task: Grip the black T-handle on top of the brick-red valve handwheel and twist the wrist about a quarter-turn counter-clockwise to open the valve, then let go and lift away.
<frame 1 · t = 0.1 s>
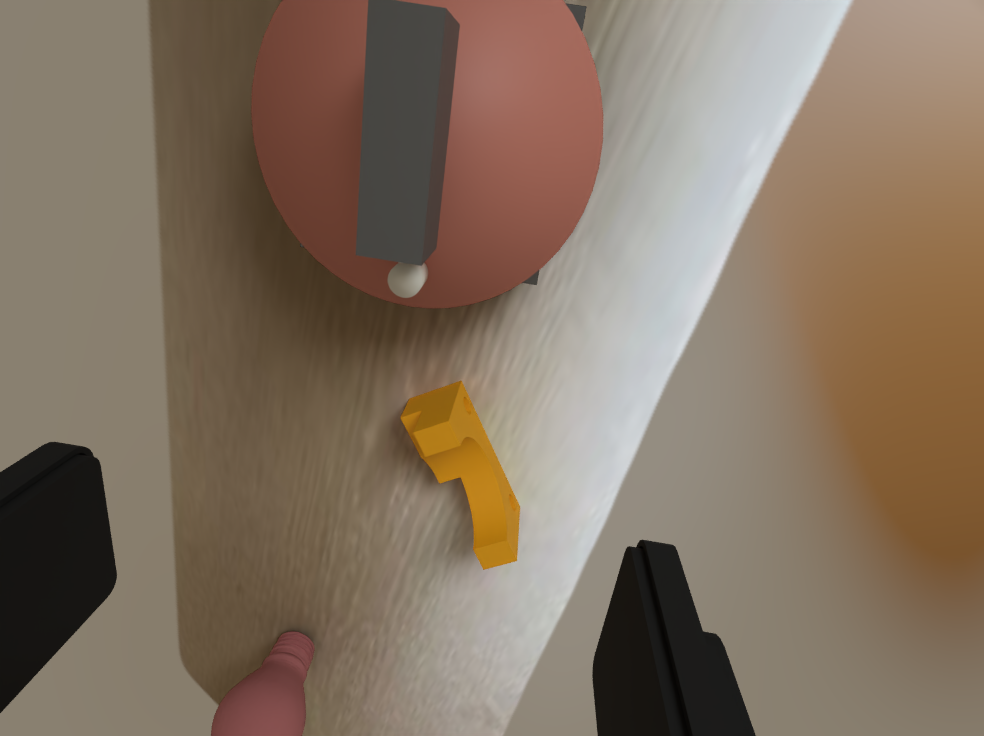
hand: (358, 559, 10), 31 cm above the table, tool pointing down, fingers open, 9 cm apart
light bulb: (300, 636, 55), on the table
handwheel: (414, 139, 27), point 10 cm above the table, hinge at 0.0°
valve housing: (446, 135, 36), on the table
pipe clamp: (467, 452, 46), on the table
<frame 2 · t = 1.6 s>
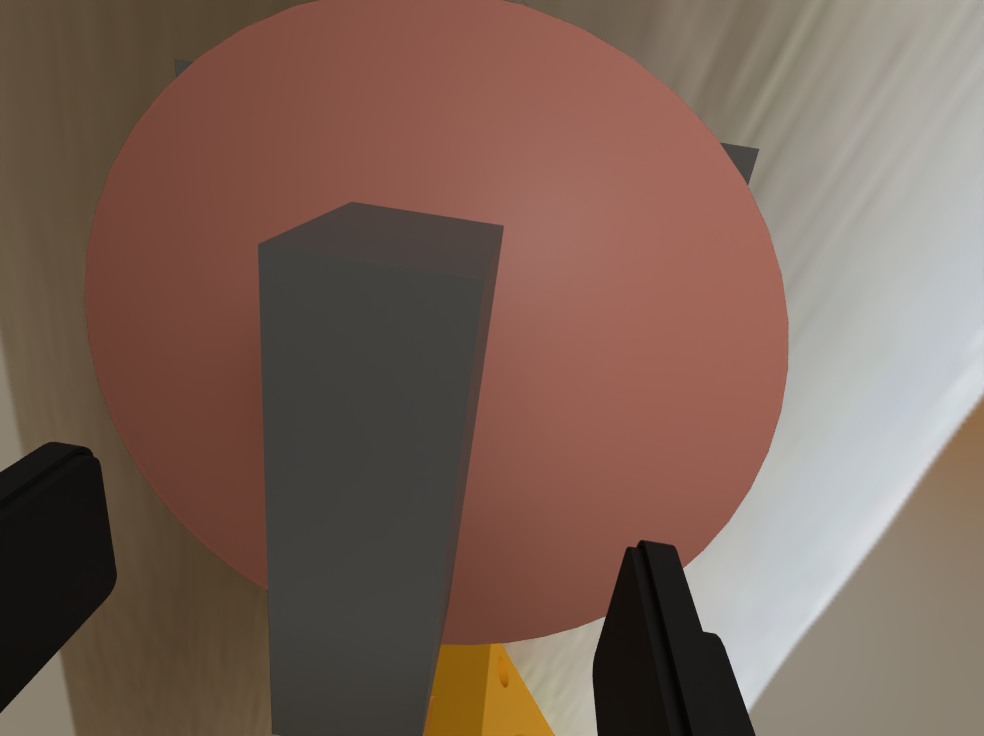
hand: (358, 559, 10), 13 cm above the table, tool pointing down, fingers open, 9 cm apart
handwheel: (403, 443, 13), point 10 cm above the table, hinge at 0.0°
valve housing: (462, 306, 22), on the table
pipe clamp: (501, 708, 32), on the table
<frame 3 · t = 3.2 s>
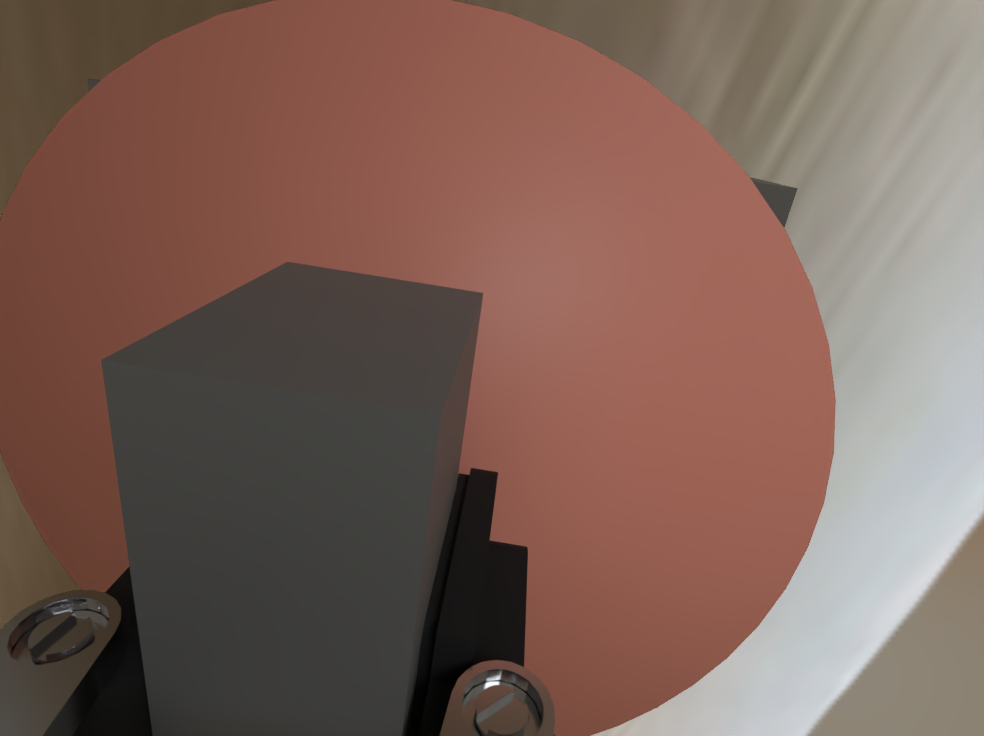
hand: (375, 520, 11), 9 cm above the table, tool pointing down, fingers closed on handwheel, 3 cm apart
handwheel: (360, 555, 10), point 10 cm above the table, hinge at 0.0°, touching gripper
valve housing: (446, 353, 19), on the table
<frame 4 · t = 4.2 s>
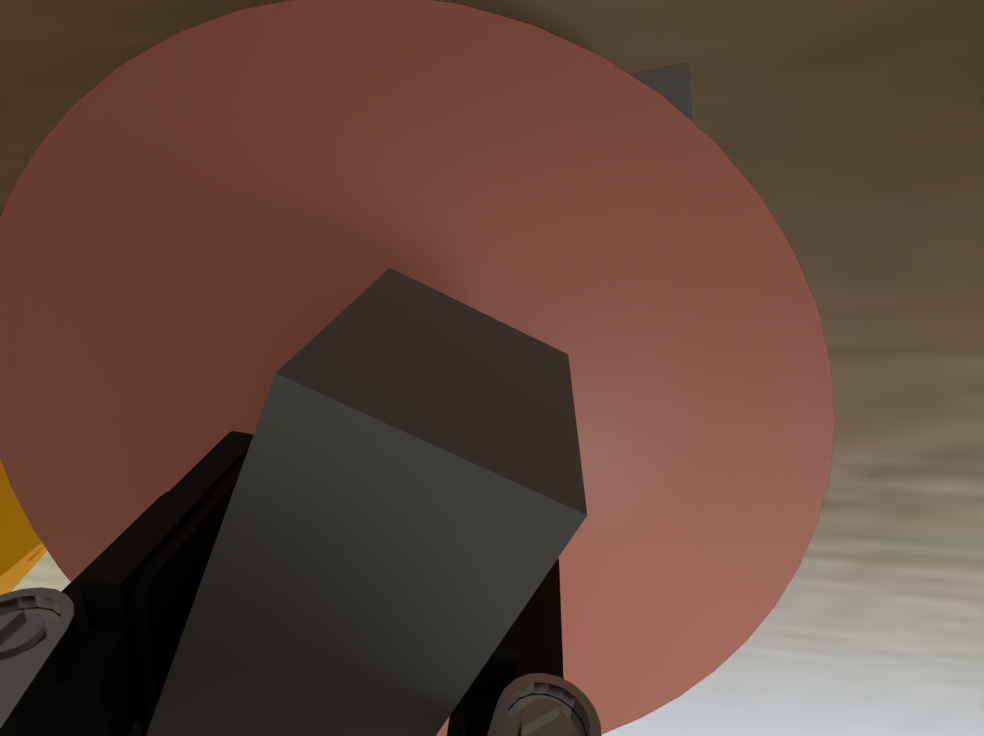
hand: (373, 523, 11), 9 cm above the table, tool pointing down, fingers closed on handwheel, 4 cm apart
handwheel: (358, 558, 10), point 10 cm above the table, hinge at 53.8°, touching gripper
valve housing: (445, 354, 19), on the table
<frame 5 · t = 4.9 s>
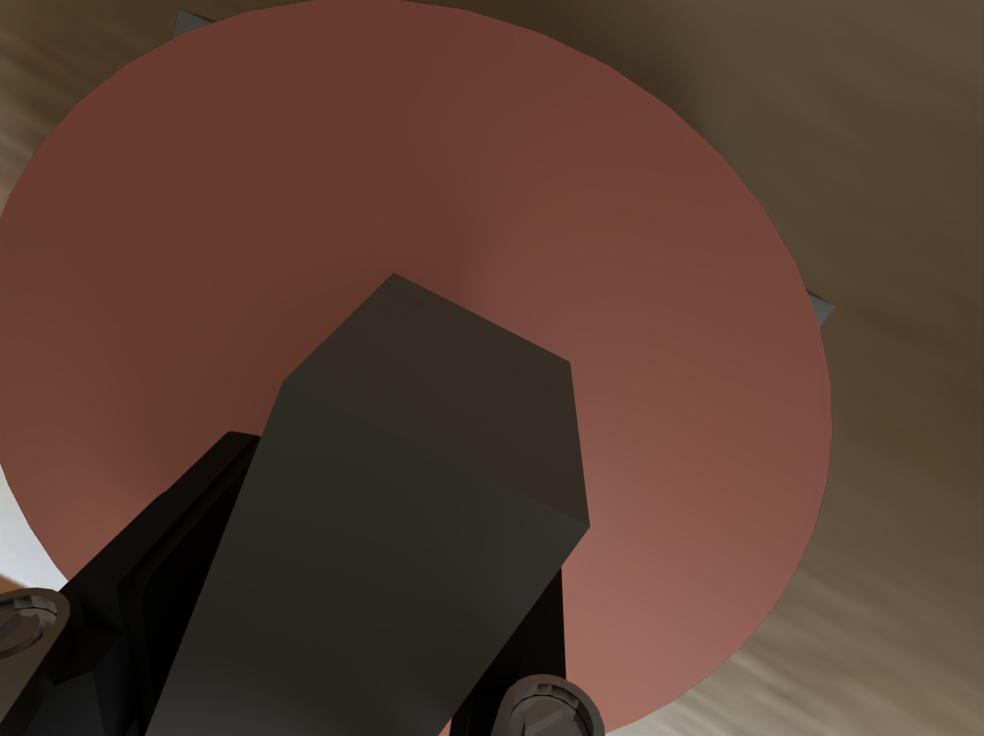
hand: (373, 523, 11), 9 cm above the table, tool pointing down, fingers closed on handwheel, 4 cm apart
handwheel: (357, 561, 10), point 10 cm above the table, hinge at 86.1°, touching gripper
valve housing: (444, 356, 19), on the table
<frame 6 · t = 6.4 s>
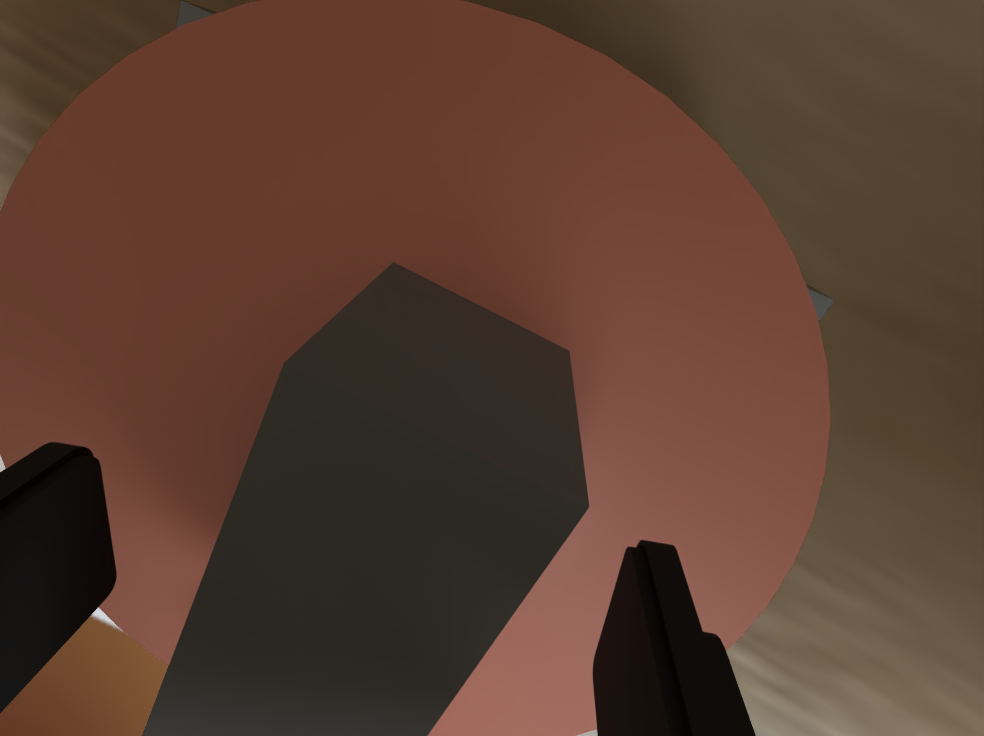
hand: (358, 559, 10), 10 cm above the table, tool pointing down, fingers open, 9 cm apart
handwheel: (357, 551, 10), point 10 cm above the table, hinge at 86.5°
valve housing: (443, 351, 20), on the table
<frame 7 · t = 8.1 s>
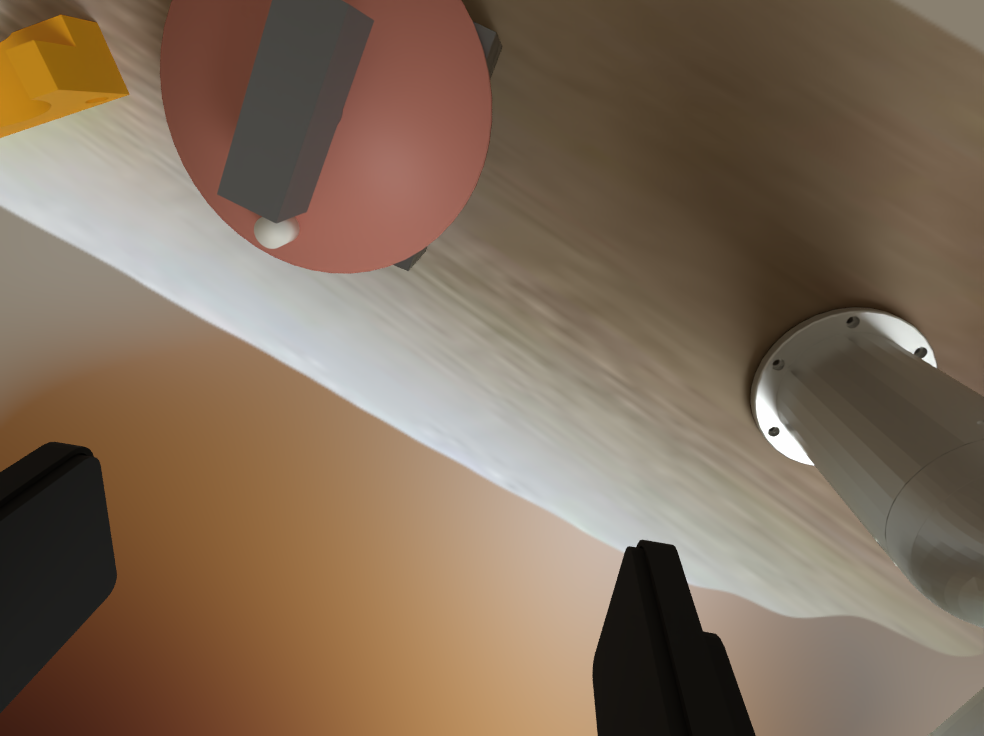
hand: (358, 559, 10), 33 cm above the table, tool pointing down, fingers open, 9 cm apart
handwheel: (308, 107, 29), point 10 cm above the table, hinge at 86.5°
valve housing: (363, 112, 38), on the table
pipe clamp: (41, 86, 39), on the table
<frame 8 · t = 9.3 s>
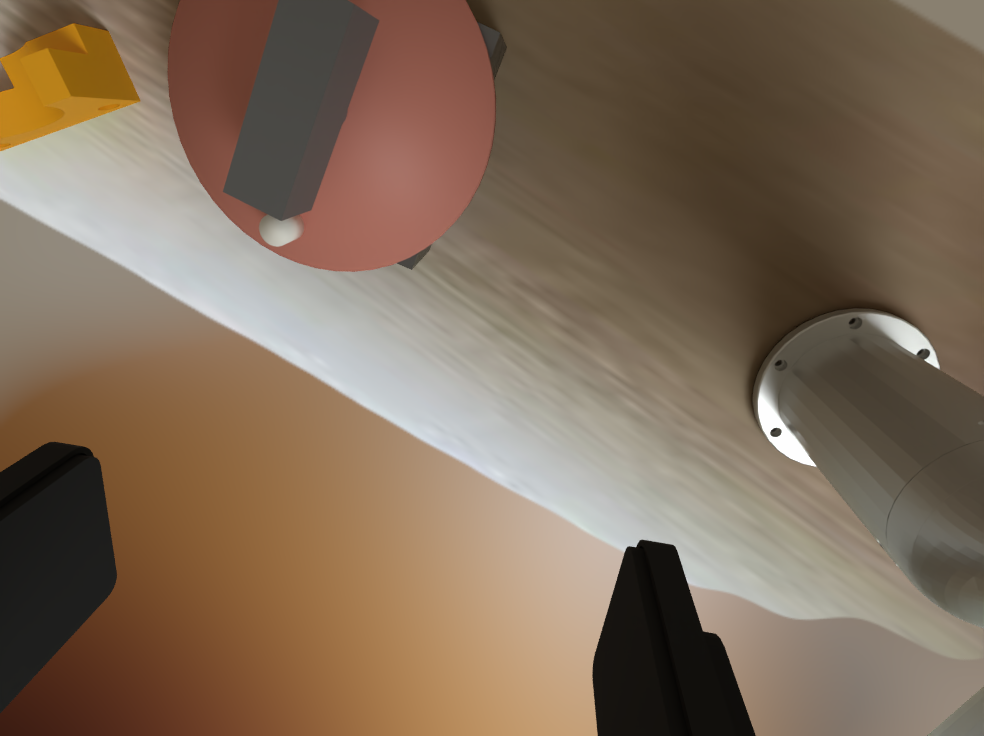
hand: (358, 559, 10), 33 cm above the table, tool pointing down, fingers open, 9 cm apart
handwheel: (313, 106, 29), point 10 cm above the table, hinge at 86.5°
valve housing: (368, 111, 38), on the table
pipe clamp: (55, 94, 40), on the table
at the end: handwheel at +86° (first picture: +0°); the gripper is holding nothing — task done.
